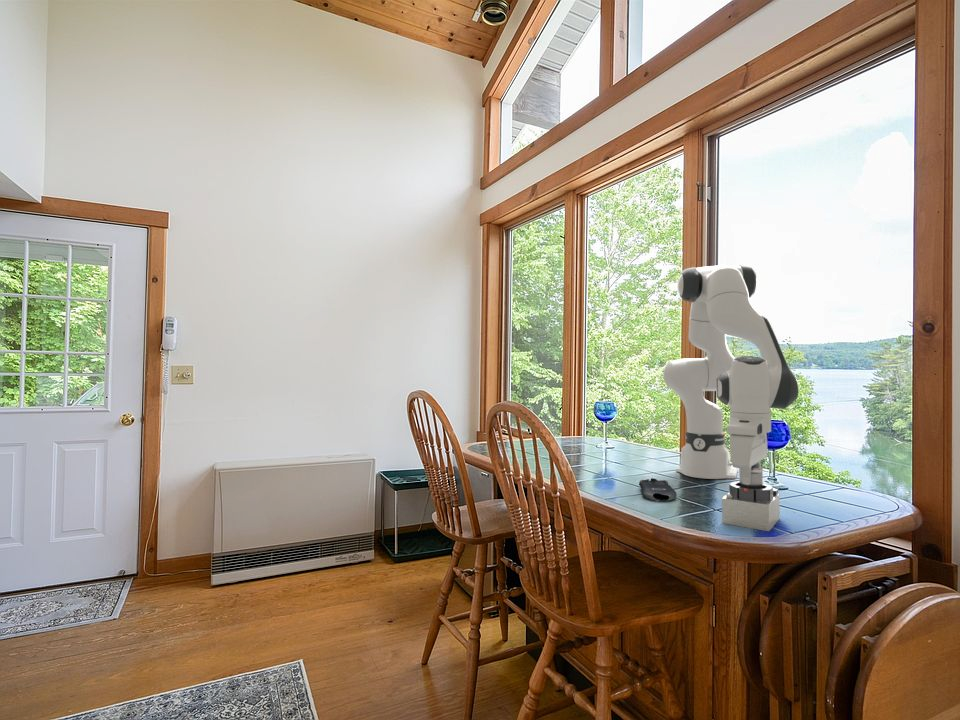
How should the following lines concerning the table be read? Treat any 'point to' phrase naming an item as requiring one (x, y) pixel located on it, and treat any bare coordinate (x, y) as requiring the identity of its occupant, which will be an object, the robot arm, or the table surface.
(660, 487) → the electronic device
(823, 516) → the table surface
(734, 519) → the camera body
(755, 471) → the lens
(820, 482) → the table surface
